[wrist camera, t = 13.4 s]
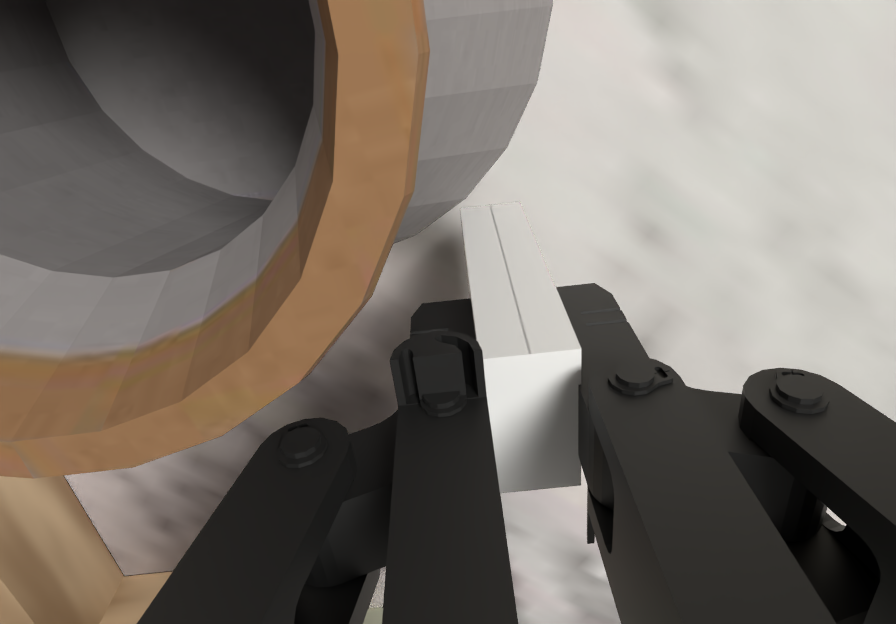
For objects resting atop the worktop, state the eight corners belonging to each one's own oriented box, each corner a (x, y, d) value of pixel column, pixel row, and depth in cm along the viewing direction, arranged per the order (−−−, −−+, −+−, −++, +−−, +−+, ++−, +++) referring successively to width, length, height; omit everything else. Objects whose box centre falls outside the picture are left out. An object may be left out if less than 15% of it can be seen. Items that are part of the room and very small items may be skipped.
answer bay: (40, -546, 10) (-164, -825, 7) (361, 567, 25) (350, 662, 21) (-581, -442, 11) (-1082, -654, 7) (96, 593, 25) (41, 691, 22)
